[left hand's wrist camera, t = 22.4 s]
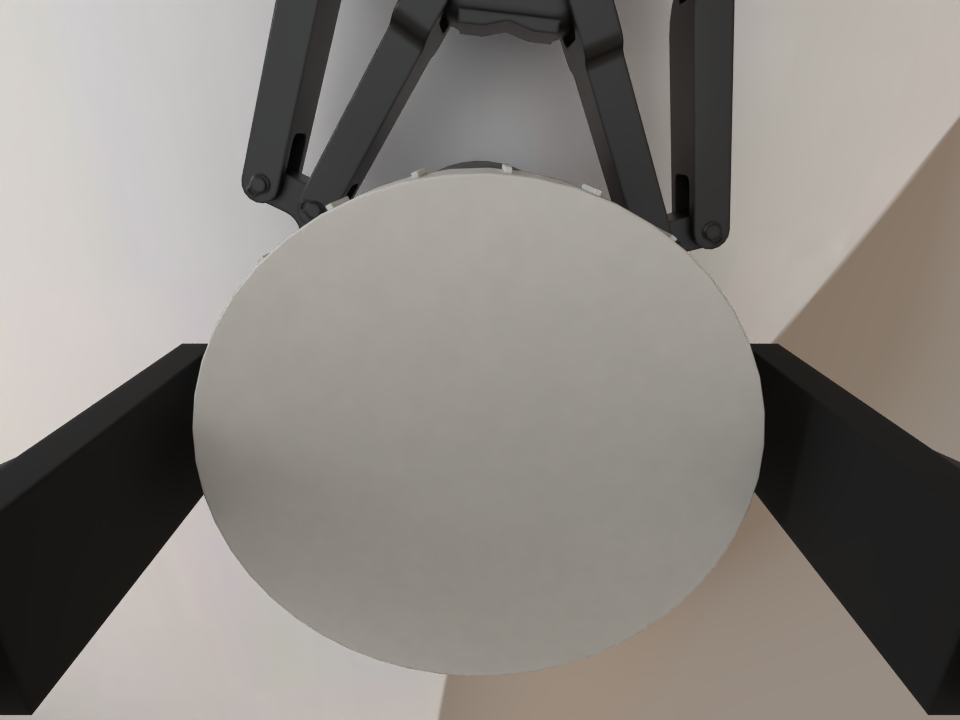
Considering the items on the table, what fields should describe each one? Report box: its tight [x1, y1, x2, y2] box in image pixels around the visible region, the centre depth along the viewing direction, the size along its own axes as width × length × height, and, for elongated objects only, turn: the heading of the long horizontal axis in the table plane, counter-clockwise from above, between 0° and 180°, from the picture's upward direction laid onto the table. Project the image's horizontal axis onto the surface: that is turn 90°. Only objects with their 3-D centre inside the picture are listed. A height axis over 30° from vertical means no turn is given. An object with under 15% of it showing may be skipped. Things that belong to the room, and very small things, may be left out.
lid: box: [193, 164, 765, 676], centre depth 11 cm, size 10×10×2 cm
